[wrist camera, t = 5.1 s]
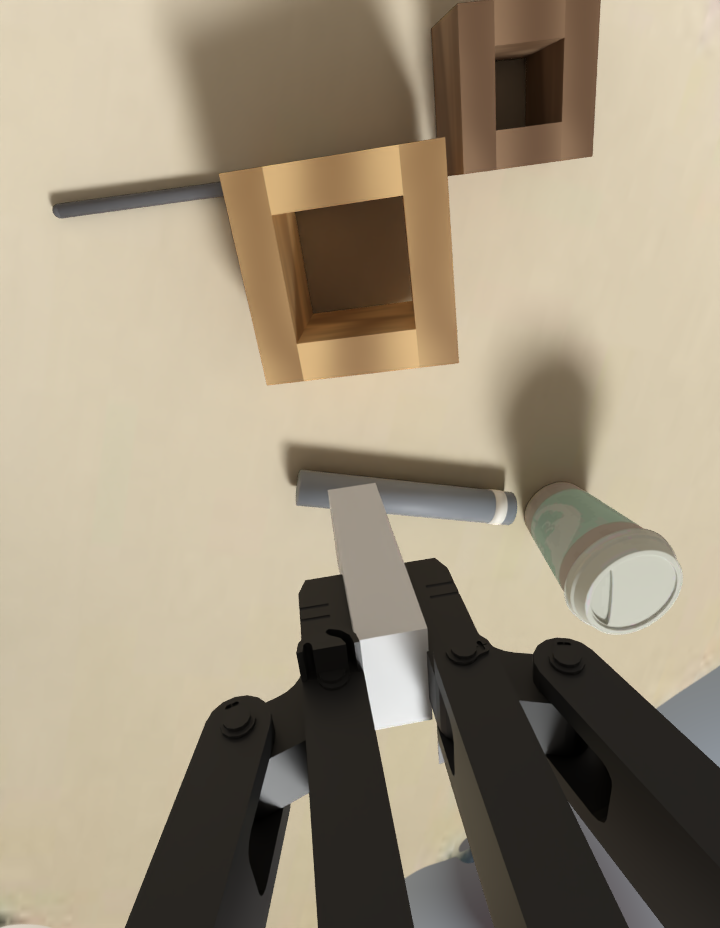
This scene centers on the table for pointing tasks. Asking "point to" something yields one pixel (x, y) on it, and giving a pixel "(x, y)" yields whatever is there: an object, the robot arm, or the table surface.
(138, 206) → the grey long thin rod
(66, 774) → the table surface
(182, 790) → the robot arm
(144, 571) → the table surface
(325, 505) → the gray tube
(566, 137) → the bead dark
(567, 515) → the coffee cup
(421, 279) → the light wooden square box
